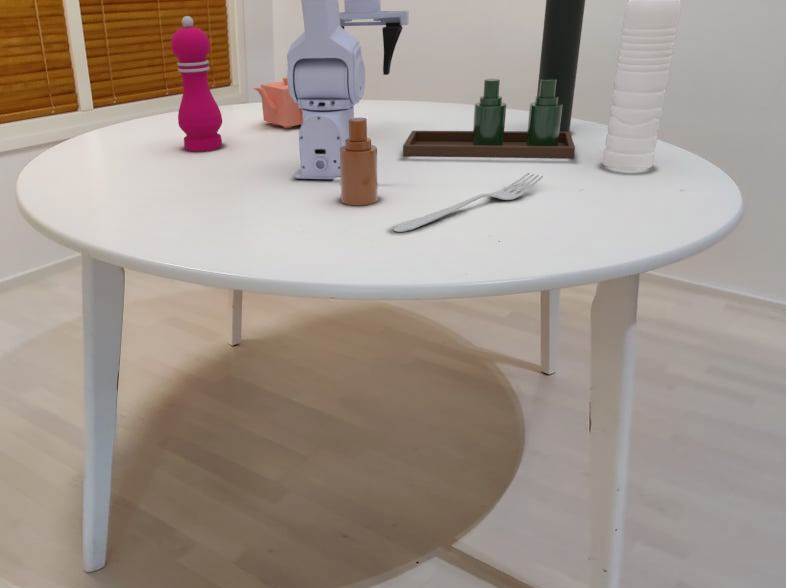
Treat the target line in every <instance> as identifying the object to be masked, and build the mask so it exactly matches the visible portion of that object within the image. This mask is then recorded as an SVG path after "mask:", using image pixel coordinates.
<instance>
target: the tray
mask: <svg viewBox="0 0 786 588" xmlns="http://www.w3.org/2000/svg"><path fill="white" fill-rule="evenodd" d="M527 131H528V130H527ZM527 131H525V130H523V131H522V130H521V131H520V130H506V131H505V130H504V141H503V146H490V145H473V130H412V131H410V133H409V135H408V137H407V139H406V140H405V142H404V144H403V146H402V157H428V158H429V157H430V158H431V157H433V158H434V157H435V158H436V157H438V158H439V157H443V158H500V159H503V158H504V159H505V158H506V159H507V158H508V159H509V158H511V159H573V160H574V159H575V150H576V147H575V143H574V140H573V136H572V133H571V131H568V132H559V140H558V146H526V142H527Z"/></svg>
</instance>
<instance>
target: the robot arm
mask: <svg viewBox="0 0 786 588" xmlns="http://www.w3.org/2000/svg"><path fill="white" fill-rule="evenodd" d="M300 2H301V9H302V10H301V11H302V19H303V26H304V32H303V33H301V34H300V35H298V37H297V38H296V39H295V40H294V41H292V43H291V44H290V45H289V48H288V50H287V54H286V60H287V71H286V77H287V84H288V90H289V94H290V96H291V98H292V99H293V100H294V102H295V103H298V108H299V109H302V113H303V124H302V125H301V124H300V128H299V131H298V146H299V148H298V149H299V163H300V169H299V170H298V171H297V172H296V173H295V174H294V178H295V179H298V180H300V179H301V180H335V179H336V178H341V177H340V148H341V147H343V146H345V140H346V139H348V138H349V123H348V120H349V119H351V118H355V109H354V108H355V105H356V104H357V105H358V104H359V103H360V101H361V100H363V97H364V94H365V89H366V68H365V63H364V59H363V54H362V46H361V45H360V41H359V40H358V39H357V38H356V37H355V36H353V35H352V34H351V33H350V32H348V31H347V30H346V29H345V27H365V26H366V27H367V26H368V27H370V26H371V27H372V26H383V27H382V28H381V29H382V43H383V44H382V45H383V62H382V64H383V65H382V75H383V76H388V75H389V74H390V73H391V66H392V65H391V64H392V61H393V55H394V52H395V49H396V46H397V43H398V41H399V38H400V36H401V33H402V31H403V26H408V25H409V18H410V17H409V10H381V0H344V1H343V3H344V12H341V11H340V5H339V3H340V2H339V0H300ZM354 20H355V21H354ZM356 20H373V21H356ZM353 21H354V22H353Z"/></svg>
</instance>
